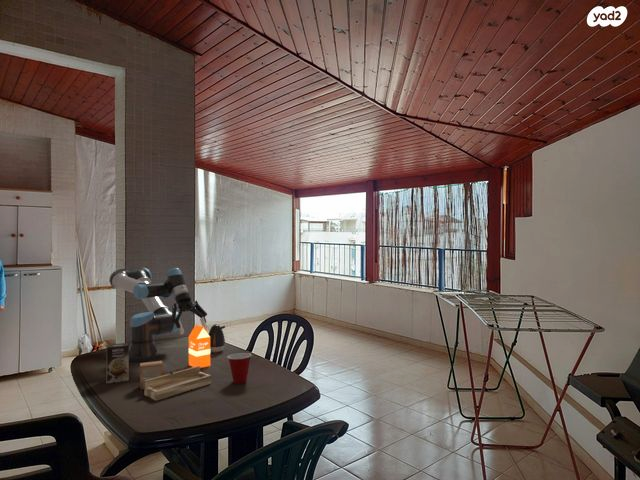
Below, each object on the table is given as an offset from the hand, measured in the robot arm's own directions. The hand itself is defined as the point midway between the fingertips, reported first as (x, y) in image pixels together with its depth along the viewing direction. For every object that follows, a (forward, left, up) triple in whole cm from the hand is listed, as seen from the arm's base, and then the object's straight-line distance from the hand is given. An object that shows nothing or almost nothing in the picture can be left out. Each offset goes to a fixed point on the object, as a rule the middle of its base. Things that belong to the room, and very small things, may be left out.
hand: (194, 331), depth 220 cm
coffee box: (-4, -38, -16) cm, 41 cm away
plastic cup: (+39, -3, -16) cm, 43 cm away
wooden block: (+15, -32, -16) cm, 39 cm away
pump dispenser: (-10, +20, -16) cm, 28 cm away
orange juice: (+5, -1, -16) cm, 17 cm away
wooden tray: (+27, -26, -16) cm, 41 cm away
